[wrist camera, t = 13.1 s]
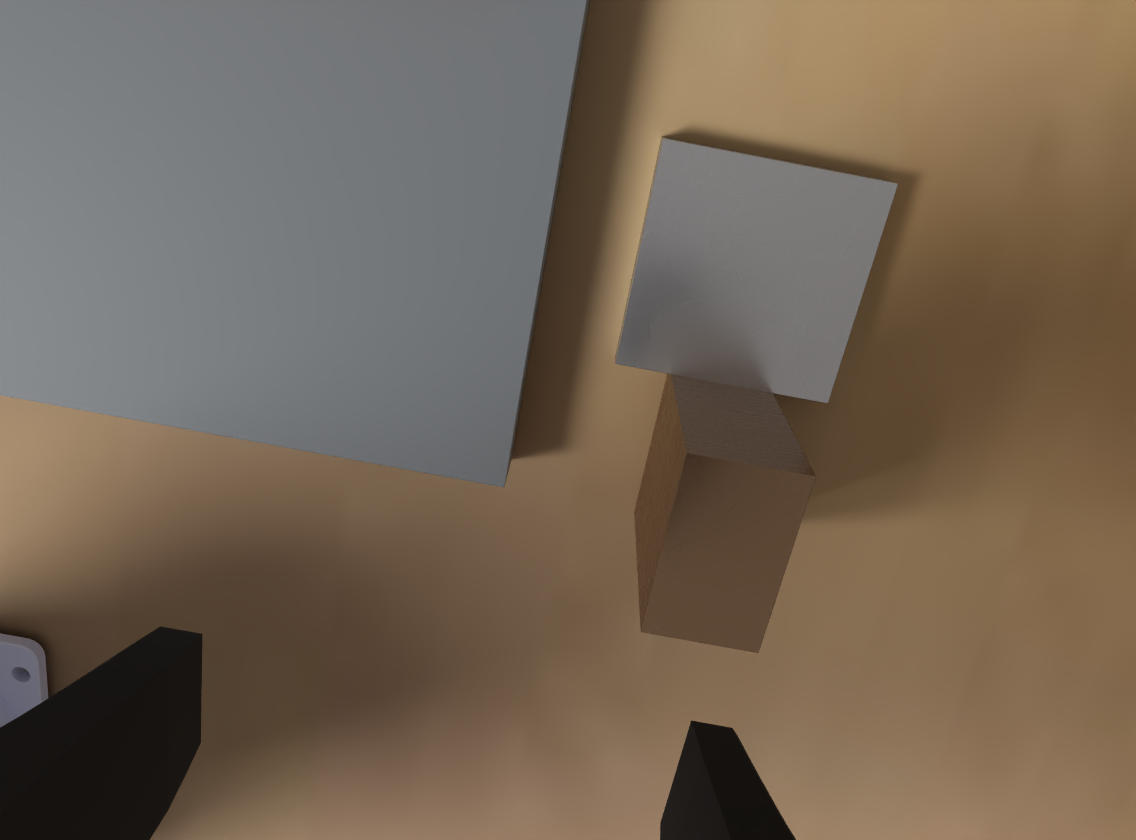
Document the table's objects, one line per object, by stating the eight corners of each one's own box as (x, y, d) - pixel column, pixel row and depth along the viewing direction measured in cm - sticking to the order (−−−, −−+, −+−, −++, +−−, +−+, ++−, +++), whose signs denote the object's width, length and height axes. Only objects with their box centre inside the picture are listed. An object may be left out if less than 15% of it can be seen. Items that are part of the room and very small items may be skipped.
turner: (776, 538, 21) (821, 664, 17) (584, 502, 21) (576, 620, 17) (889, 180, 18) (985, 215, 13) (661, 136, 18) (679, 156, 13)
